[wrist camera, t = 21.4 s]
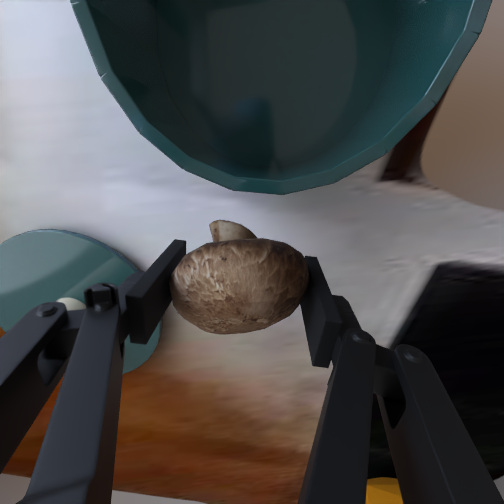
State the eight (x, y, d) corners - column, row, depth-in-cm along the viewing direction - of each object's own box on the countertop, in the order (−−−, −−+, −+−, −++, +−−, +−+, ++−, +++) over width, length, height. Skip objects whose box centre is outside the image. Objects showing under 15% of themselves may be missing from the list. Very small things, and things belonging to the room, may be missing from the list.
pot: (107, -79, 15) (-46, -286, 8) (401, -204, 13) (582, -671, 5) (195, 195, 21) (157, 223, 14) (404, 145, 19) (490, 148, 12)
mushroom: (172, 180, 12) (178, 303, 9) (313, 195, 15) (354, 293, 12) (164, 263, 19) (166, 354, 15) (265, 263, 21) (284, 338, 18)
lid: (-43, 247, 25) (-233, 313, 15) (121, 207, 22) (13, 257, 13) (53, 377, 31) (-39, 478, 22) (187, 357, 29) (148, 463, 19)
